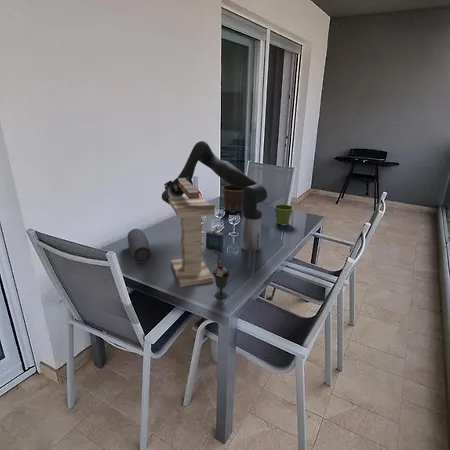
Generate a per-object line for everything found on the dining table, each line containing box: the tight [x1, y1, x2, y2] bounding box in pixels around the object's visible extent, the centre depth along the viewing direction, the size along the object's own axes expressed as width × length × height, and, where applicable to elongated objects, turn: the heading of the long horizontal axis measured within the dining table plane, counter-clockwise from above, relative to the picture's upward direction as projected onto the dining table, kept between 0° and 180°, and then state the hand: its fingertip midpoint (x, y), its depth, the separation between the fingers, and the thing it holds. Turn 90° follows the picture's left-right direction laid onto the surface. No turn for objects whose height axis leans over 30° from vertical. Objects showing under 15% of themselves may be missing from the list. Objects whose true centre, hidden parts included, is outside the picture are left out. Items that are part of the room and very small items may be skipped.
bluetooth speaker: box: [127, 228, 152, 264], centre depth 152 cm, size 23×9×10 cm, turn 22°
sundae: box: [212, 259, 231, 300], centre depth 121 cm, size 7×7×15 cm
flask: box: [205, 229, 225, 252], centre depth 160 cm, size 9×3×11 cm, turn 74°
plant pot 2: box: [273, 203, 295, 225], centre depth 196 cm, size 12×12×11 cm
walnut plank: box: [177, 177, 200, 199], centre depth 131 cm, size 24×4×2 cm, turn 20°
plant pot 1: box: [221, 184, 244, 212], centre depth 218 cm, size 16×16×16 cm
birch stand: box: [169, 195, 216, 288], centre depth 133 cm, size 20×14×34 cm
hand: (182, 179), depth 137 cm, fingers closed on walnut plank, 4 cm apart
